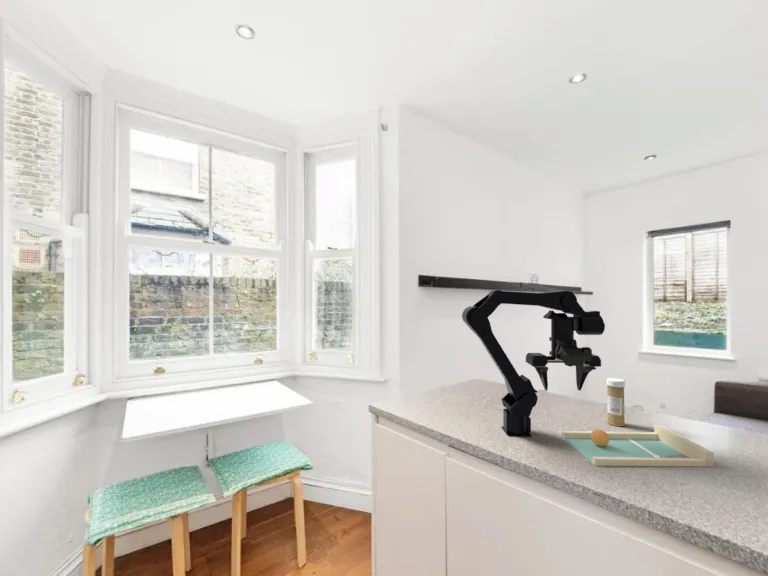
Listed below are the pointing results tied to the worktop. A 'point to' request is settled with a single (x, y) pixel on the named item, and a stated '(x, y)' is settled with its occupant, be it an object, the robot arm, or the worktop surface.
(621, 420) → the sprinkles bottle
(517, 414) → the robot arm
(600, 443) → the ball
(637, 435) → the lane
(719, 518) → the worktop surface
